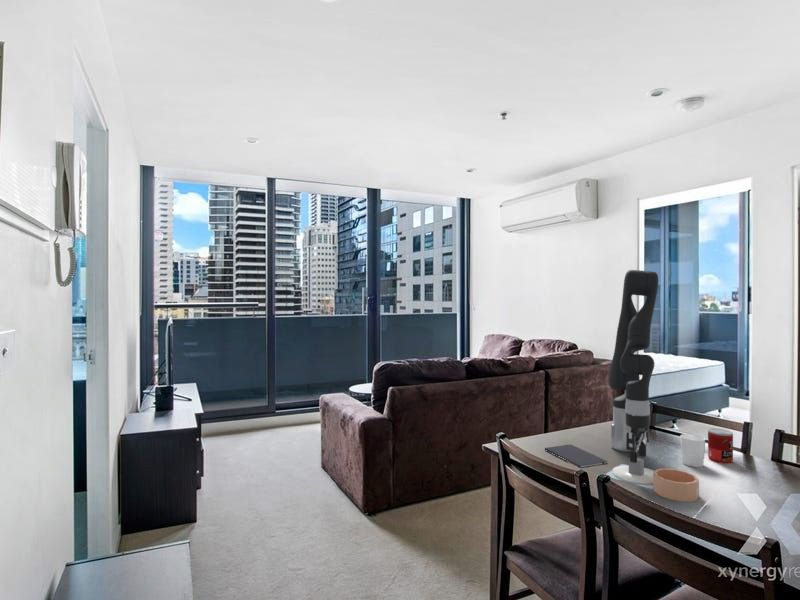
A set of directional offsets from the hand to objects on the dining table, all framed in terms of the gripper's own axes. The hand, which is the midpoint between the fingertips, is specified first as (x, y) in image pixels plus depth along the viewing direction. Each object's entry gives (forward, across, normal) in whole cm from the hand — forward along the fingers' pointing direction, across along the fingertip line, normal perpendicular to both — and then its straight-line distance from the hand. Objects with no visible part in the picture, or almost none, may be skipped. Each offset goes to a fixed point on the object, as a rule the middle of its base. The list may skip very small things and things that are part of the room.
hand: (638, 459), depth 163 cm
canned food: (+6, -39, +16) cm, 42 cm away
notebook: (+7, -5, -25) cm, 26 cm away
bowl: (+7, +6, +13) cm, 16 cm away
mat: (+6, 0, -1) cm, 6 cm away
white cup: (+6, -27, +10) cm, 29 cm away
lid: (+6, 0, -1) cm, 6 cm away
